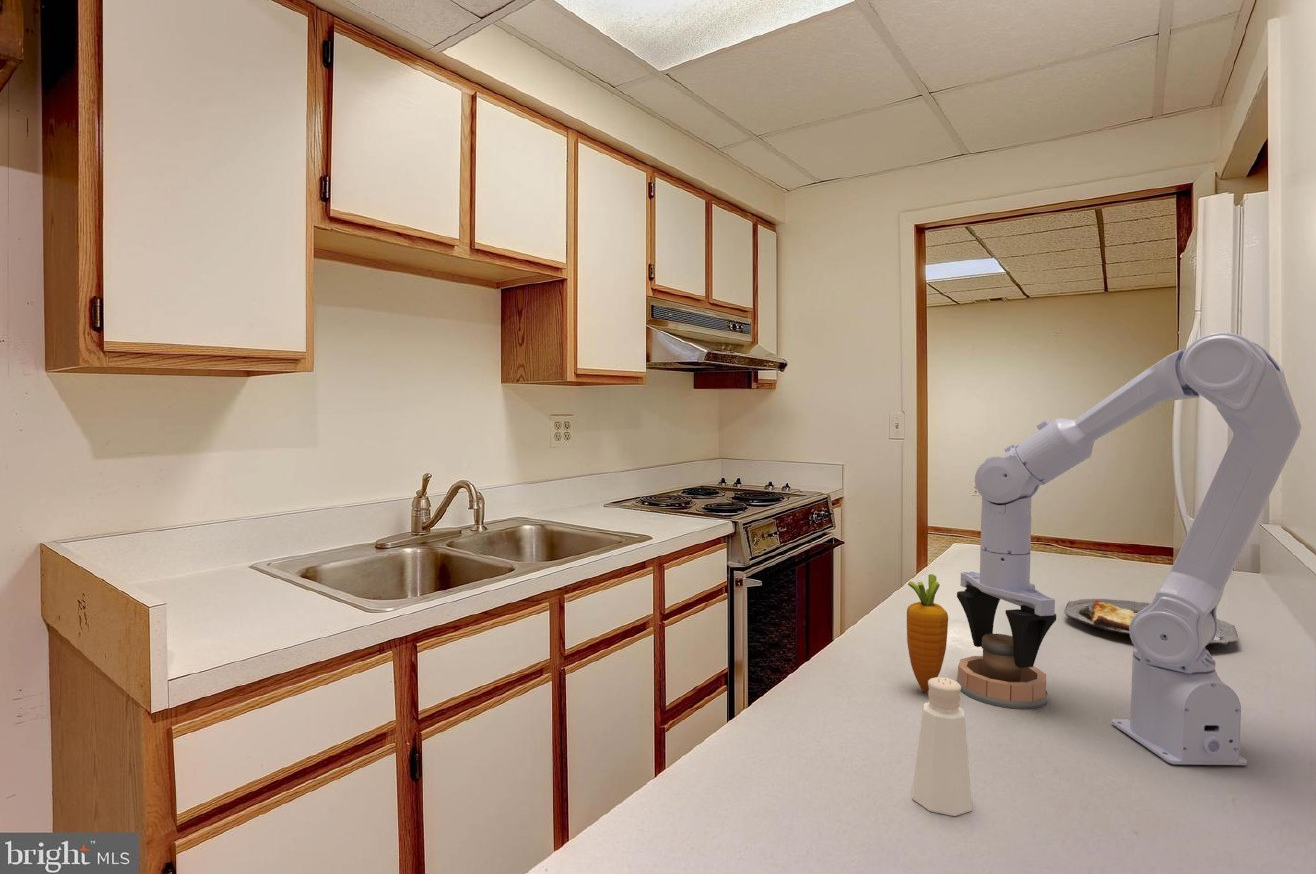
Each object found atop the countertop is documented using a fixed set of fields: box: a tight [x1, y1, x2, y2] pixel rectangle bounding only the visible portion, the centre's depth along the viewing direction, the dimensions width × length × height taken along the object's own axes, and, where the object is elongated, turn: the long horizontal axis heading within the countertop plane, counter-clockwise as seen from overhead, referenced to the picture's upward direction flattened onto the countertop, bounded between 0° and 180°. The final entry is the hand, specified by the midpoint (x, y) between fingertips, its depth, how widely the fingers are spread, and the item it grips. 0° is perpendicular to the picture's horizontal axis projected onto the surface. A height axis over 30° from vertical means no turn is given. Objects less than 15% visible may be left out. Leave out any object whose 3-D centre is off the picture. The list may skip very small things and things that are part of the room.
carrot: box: [906, 573, 949, 693], centre depth 87 cm, size 5×5×15 cm
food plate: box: [1063, 598, 1240, 647], centre depth 115 cm, size 25×23×4 cm
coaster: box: [956, 655, 1049, 710], centre depth 88 cm, size 10×10×3 cm
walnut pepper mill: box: [981, 633, 1021, 682], centre depth 88 cm, size 5×5×6 cm
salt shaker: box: [911, 676, 973, 817], centre depth 63 cm, size 5×5×11 cm
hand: (1002, 655), depth 88 cm, fingers open, 7 cm apart
